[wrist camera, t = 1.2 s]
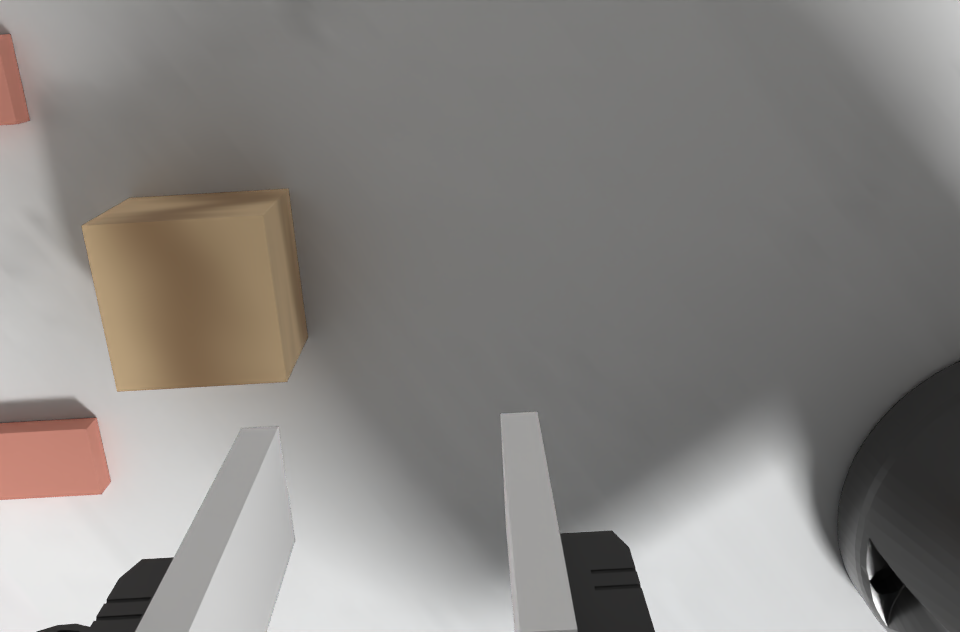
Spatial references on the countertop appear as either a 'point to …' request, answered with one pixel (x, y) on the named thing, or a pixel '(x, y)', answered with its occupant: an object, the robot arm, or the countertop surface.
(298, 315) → the oak block
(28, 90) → the countertop surface
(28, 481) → the mats
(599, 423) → the countertop surface
